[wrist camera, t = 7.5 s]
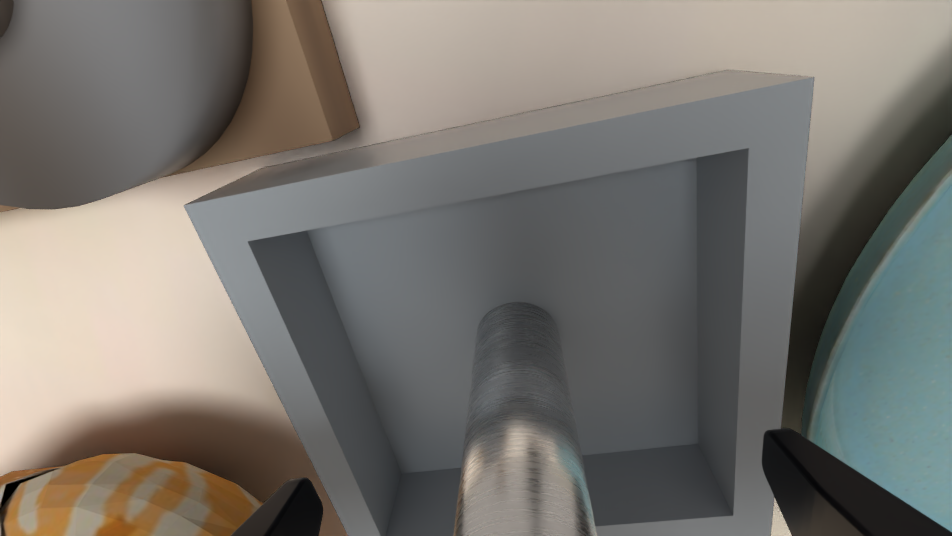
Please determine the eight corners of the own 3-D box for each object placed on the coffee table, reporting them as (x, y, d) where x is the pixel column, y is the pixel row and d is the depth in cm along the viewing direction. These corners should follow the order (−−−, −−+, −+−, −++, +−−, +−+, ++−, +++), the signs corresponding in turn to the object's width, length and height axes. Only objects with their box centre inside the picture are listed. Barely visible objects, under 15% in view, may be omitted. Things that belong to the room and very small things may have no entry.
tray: (727, 69, 11) (814, 76, 8) (719, 443, 16) (770, 536, 13) (261, 168, 12) (183, 205, 9) (387, 477, 17) (362, 565, 14)
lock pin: (562, 284, 12) (661, 691, 4) (575, 372, 14) (672, 819, 6) (456, 301, 13) (370, 699, 5) (477, 385, 14) (437, 815, 6)
